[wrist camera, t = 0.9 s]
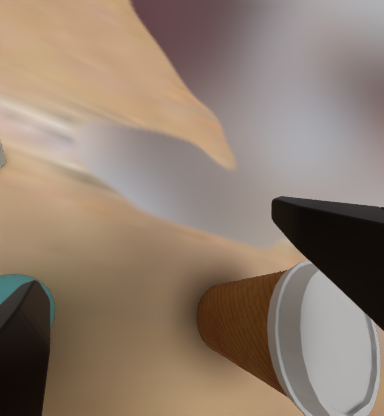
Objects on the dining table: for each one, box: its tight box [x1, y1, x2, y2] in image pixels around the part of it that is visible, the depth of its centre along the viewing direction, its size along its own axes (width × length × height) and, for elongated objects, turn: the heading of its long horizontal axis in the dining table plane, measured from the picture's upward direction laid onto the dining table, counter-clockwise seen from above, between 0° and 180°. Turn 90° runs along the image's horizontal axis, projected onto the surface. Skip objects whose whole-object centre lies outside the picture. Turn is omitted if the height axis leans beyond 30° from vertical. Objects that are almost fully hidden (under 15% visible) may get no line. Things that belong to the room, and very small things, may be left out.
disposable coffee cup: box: [197, 261, 380, 416], centre depth 19 cm, size 10×10×12 cm
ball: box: [0, 274, 55, 329], centre depth 14 cm, size 5×5×5 cm
